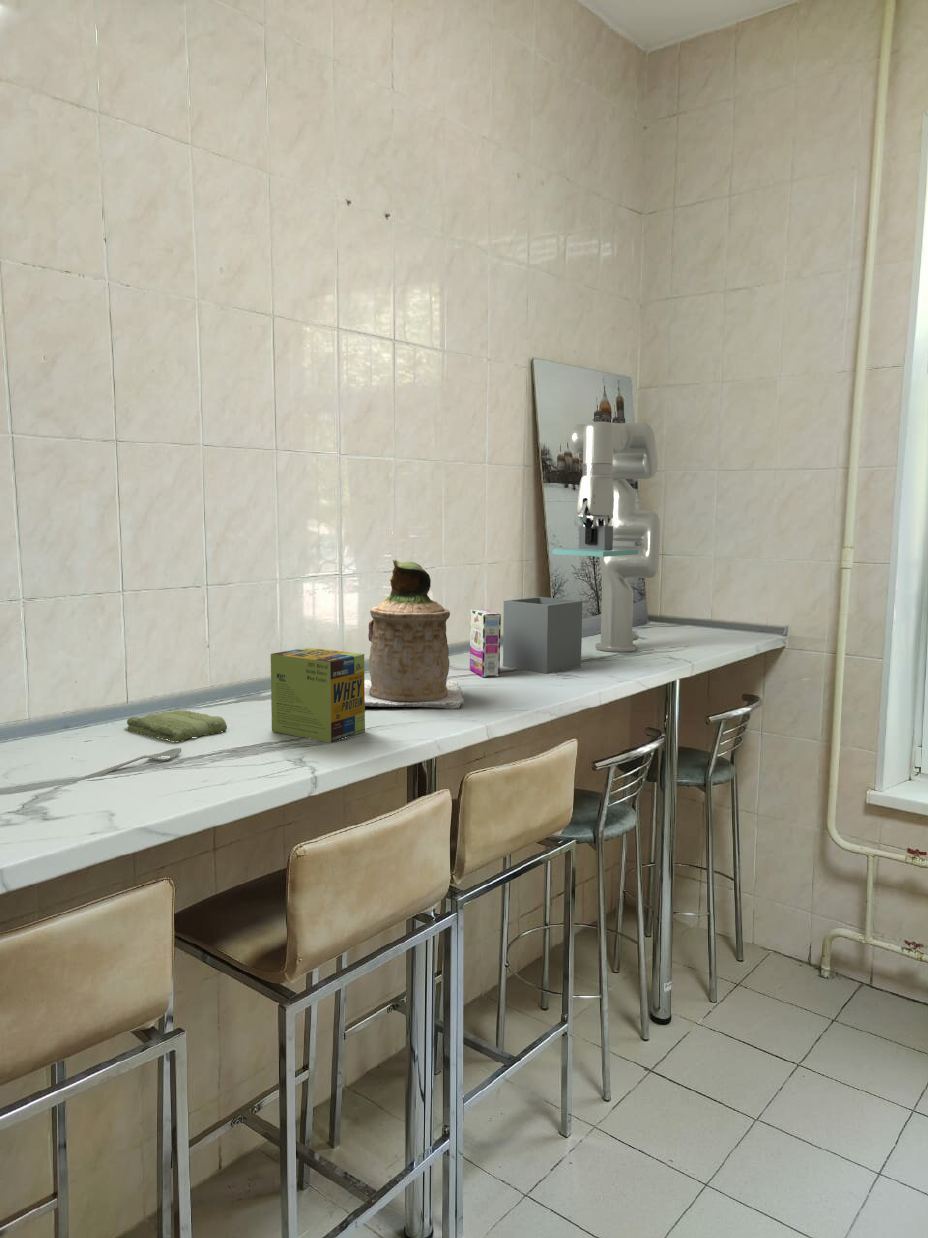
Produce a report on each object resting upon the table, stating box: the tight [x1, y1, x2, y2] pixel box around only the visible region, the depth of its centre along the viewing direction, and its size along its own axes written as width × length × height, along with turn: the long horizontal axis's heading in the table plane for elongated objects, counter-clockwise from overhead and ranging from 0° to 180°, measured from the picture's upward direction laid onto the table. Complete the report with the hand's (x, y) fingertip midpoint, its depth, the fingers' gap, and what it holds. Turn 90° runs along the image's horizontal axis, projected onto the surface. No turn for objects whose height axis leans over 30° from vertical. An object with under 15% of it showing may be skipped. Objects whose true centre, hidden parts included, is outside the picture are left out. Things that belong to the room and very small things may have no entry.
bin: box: [502, 596, 583, 674], centre depth 243 cm, size 15×15×18 cm
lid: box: [552, 525, 638, 558], centre depth 229 cm, size 16×16×7 cm
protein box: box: [270, 647, 366, 743], centre depth 173 cm, size 10×15×16 cm
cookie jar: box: [364, 558, 465, 709], centre depth 202 cm, size 25×25×32 cm
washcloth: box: [126, 709, 228, 742], centre depth 174 cm, size 13×18×3 cm
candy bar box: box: [469, 609, 502, 678], centre depth 232 cm, size 11×5×16 cm, turn 18°
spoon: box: [84, 747, 182, 779], centre depth 150 cm, size 4×21×2 cm, turn 140°
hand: (595, 543), depth 229 cm, fingers closed on lid, 3 cm apart
